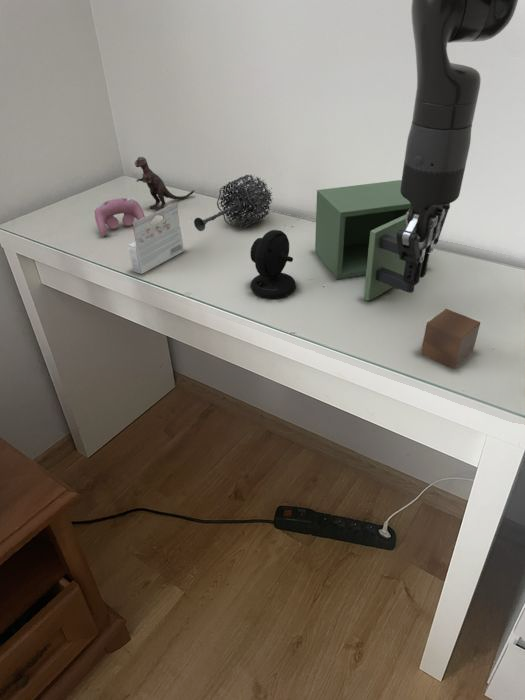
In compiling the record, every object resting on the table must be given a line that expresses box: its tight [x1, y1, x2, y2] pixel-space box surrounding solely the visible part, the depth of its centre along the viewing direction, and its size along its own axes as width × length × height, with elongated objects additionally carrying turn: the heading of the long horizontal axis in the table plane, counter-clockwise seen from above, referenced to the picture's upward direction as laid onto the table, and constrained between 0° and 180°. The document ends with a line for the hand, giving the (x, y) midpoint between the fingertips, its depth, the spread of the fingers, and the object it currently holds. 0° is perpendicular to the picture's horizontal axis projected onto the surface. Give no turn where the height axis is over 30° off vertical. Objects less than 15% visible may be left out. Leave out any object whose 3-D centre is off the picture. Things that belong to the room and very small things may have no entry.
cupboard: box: [314, 179, 411, 280], centre depth 92 cm, size 11×16×12 cm
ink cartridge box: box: [127, 201, 185, 275], centre depth 94 cm, size 2×11×10 cm, turn 144°
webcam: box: [250, 229, 297, 300], centre depth 85 cm, size 8×8×10 cm
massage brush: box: [193, 174, 274, 232], centre depth 106 cm, size 9×22×9 cm, turn 144°
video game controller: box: [94, 197, 146, 237], centre depth 109 cm, size 10×5×7 cm, turn 116°
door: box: [363, 214, 420, 302], centre depth 82 cm, size 7×16×12 cm, turn 132°
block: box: [420, 308, 481, 370], centre depth 70 cm, size 5×5×5 cm
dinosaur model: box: [134, 156, 195, 212], centre depth 117 cm, size 4×12×15 cm
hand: (414, 278), depth 77 cm, fingers closed on door, 2 cm apart
